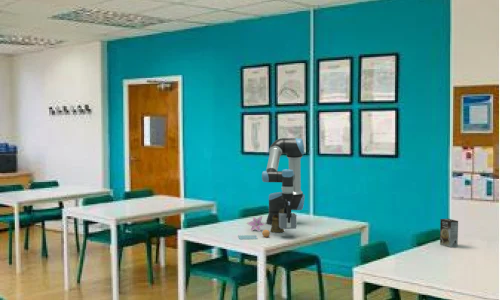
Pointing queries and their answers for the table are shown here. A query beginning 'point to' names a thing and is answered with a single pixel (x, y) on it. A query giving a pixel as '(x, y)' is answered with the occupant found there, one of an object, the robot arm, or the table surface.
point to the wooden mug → (276, 223)
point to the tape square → (247, 237)
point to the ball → (265, 233)
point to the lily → (256, 223)
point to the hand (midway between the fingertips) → (287, 226)
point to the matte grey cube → (284, 221)
